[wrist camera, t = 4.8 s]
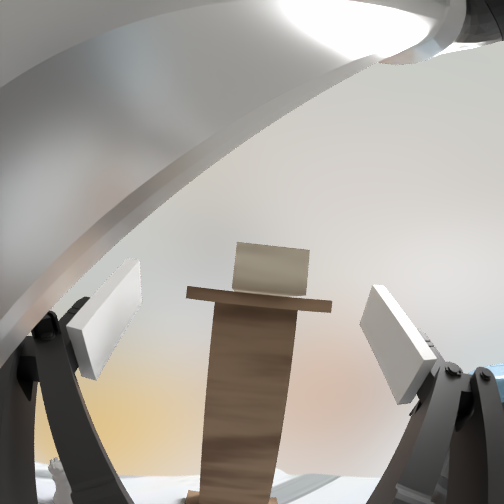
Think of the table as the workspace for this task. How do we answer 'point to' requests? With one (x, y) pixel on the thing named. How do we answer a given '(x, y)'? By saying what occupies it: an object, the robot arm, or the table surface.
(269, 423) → the shelf stand
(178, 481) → the table surface
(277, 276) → the ash bar
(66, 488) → the rook chess piece
